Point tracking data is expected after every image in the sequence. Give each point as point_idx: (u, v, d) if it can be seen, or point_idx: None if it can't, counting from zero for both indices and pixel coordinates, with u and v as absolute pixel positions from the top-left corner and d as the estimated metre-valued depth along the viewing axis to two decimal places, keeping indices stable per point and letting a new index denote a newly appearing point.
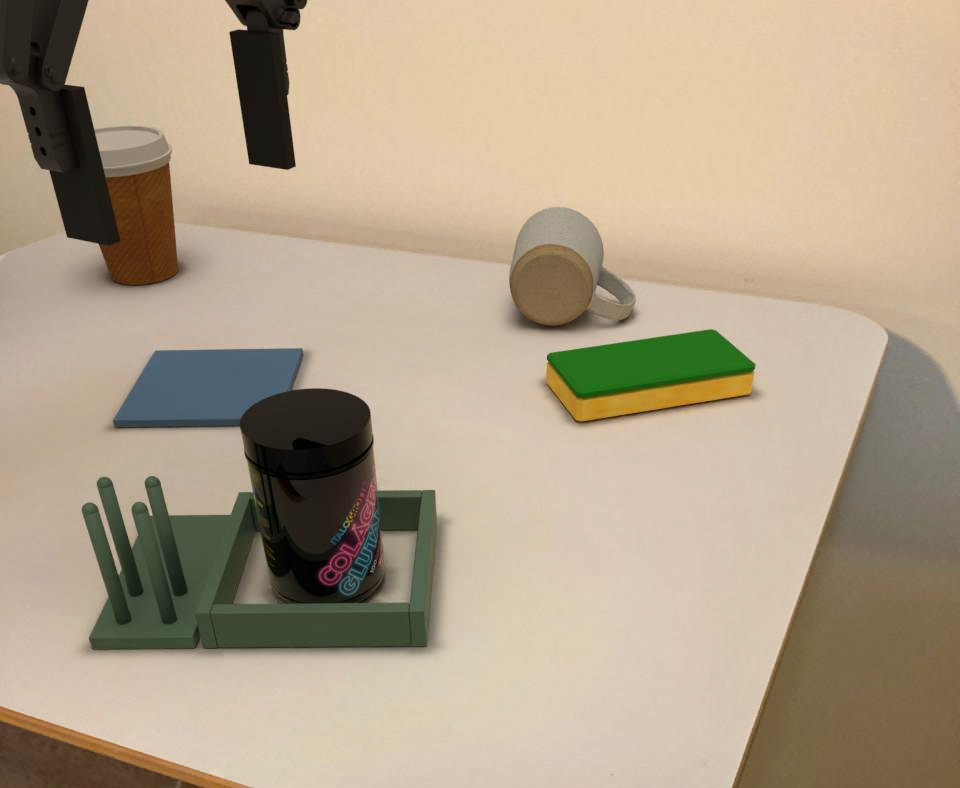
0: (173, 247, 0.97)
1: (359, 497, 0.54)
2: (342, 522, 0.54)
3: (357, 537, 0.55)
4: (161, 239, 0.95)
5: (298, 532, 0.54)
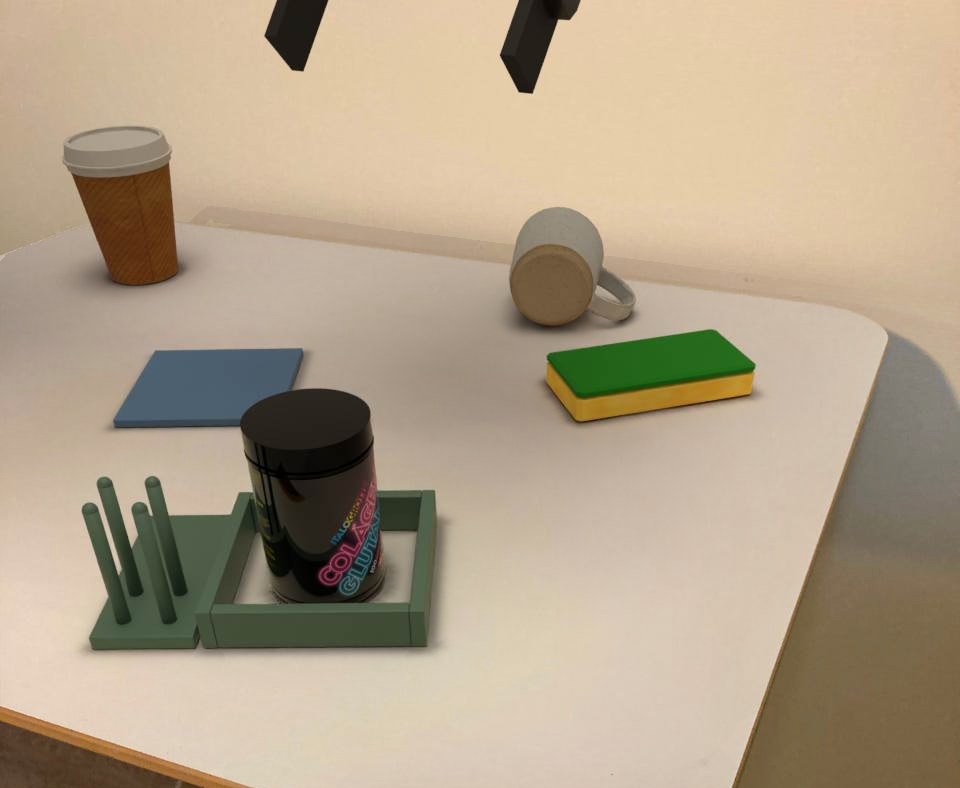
0: (173, 247, 0.97)
1: (359, 497, 0.54)
2: (343, 521, 0.54)
3: (357, 537, 0.55)
4: (160, 239, 0.95)
5: (298, 532, 0.54)
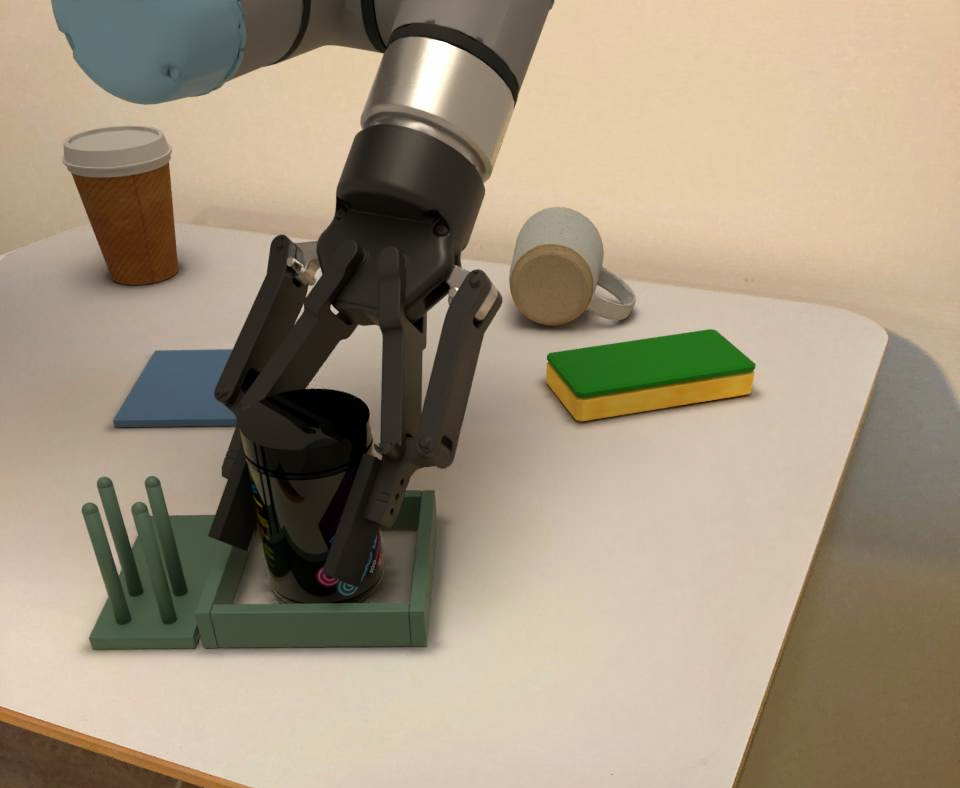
0: (173, 247, 0.97)
1: None
2: None
3: None
4: (160, 239, 0.95)
5: (297, 532, 0.54)
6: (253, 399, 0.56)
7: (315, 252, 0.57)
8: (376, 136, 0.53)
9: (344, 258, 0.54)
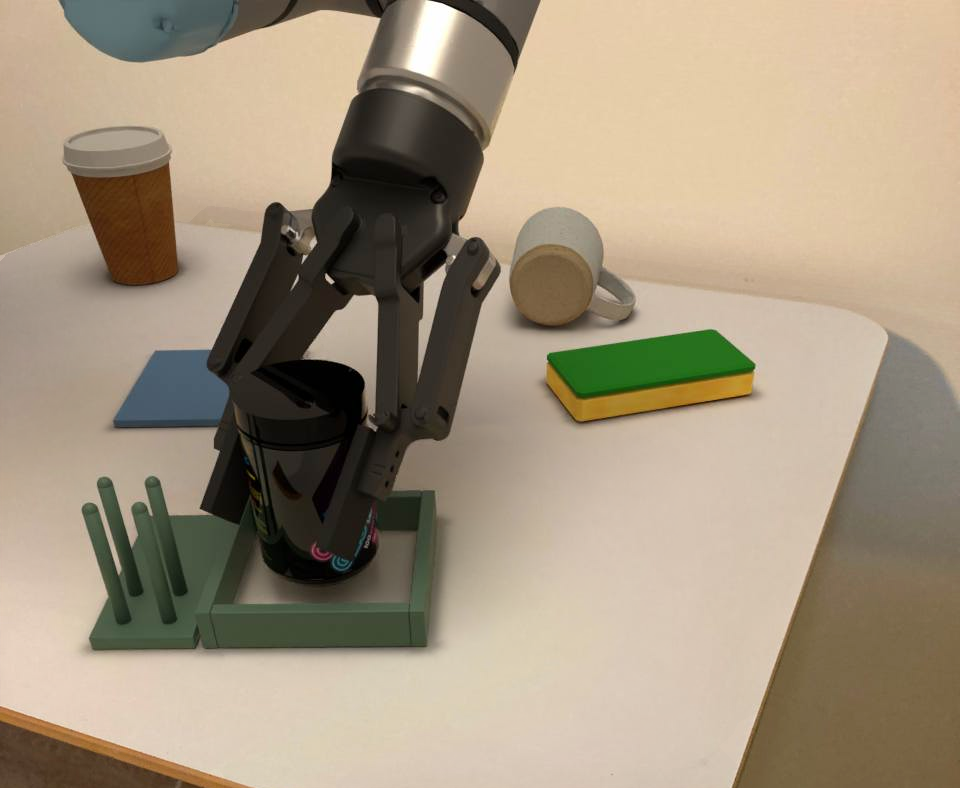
0: (173, 247, 0.97)
1: None
2: None
3: None
4: (160, 239, 0.95)
5: (290, 505, 0.53)
6: (246, 370, 0.55)
7: (310, 220, 0.56)
8: (373, 100, 0.52)
9: (339, 225, 0.53)
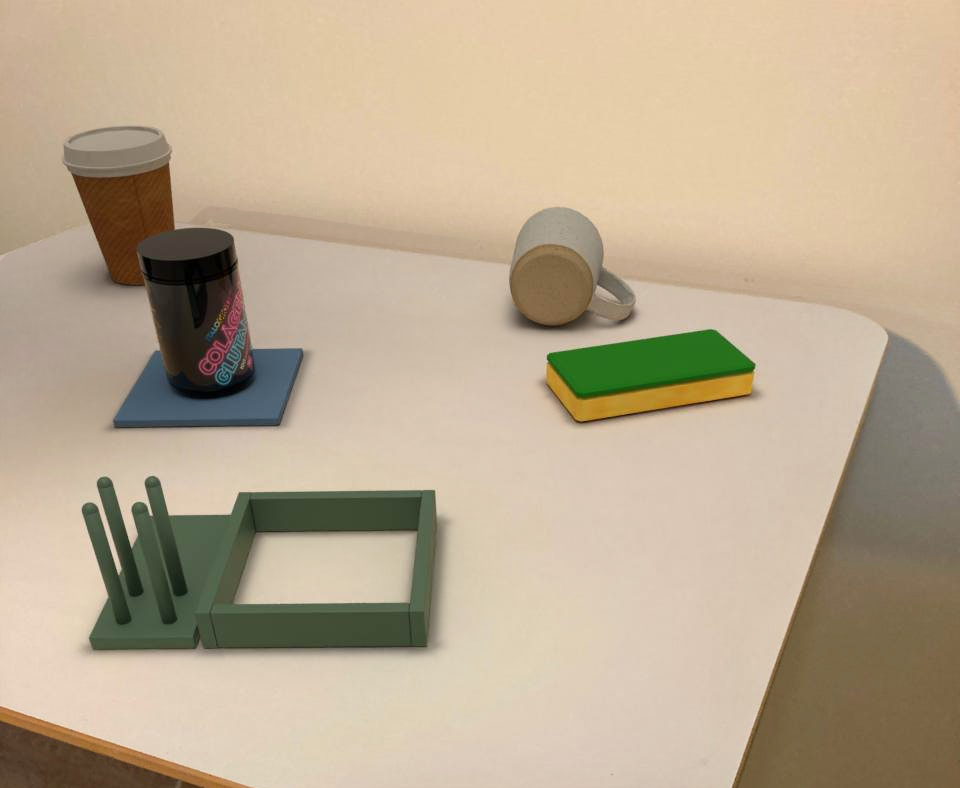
0: None
1: (226, 304, 0.73)
2: (214, 322, 0.73)
3: (227, 337, 0.74)
4: None
5: (181, 329, 0.73)
6: None
7: None
8: None
9: None
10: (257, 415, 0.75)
